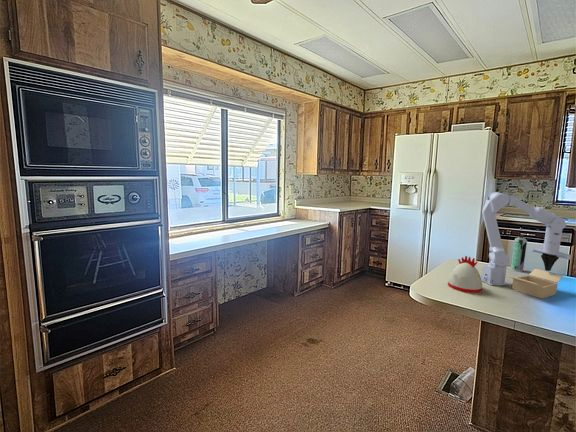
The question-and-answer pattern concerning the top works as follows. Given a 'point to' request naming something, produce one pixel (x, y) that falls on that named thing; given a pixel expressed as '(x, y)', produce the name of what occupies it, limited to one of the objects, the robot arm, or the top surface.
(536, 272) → the far flap
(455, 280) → the kitchen timer
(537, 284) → the near flap
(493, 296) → the top surface
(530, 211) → the robot arm
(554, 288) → the carton
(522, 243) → the spray can
